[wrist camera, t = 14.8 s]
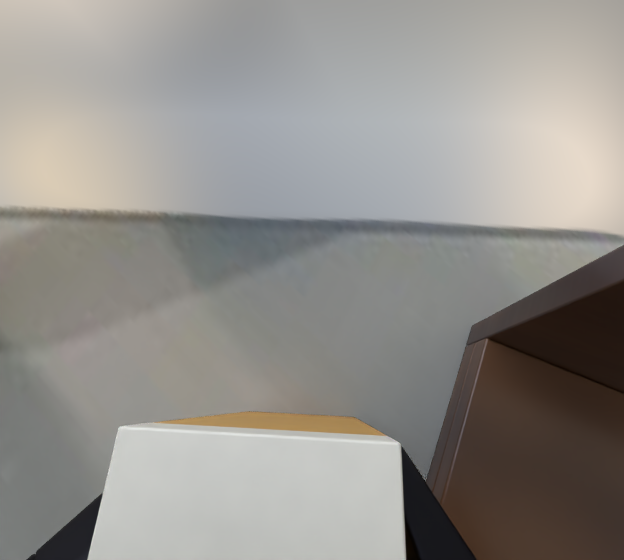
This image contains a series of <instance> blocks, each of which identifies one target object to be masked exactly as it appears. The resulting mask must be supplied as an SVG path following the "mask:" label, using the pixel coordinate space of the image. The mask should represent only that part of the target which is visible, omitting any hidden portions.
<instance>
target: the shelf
mask: <svg viewBox="0 0 624 560" xmlns="http://www.w3.org/2000/svg"><path fill="white" fill-rule="evenodd" d="M426 484H427V485H428V487H429V488H430V490H431V491H432V493H433V494H434V496H435V497H436V499H437V500H438V502H439V503H440V505H441V506H442V508H443V509H444V511H445V512H446V514H447V515H448V517H449V518H450V520H451V521H452V523H453V524H454V526H455V527H456V529H457V530H458V532H459V533H460V535H461V536H462V538H463V539H464V541H465V542H466V544H467V545H468V547H469V548H470V550H471V551H472V553H473V554H474V556H475V557H476V559H477V560H624V245H623V246H621V247H619V248H617V249H615V250H613V251H612V252H610V253H608V254H606V255H604V256H602V257H600V258H598V259H597V260H595V261H593V262H591V263H589V264H587V265H585V266H583V267H581V268H580V269H578V270H576V271H574V272H572V273H570V274H568V275H566V276H565V277H563V278H561V279H559V280H557V281H555V282H553V283H551V284H550V285H548V286H546V287H544V288H542V289H540V290H538V291H536V292H535V293H533V294H531V295H529V296H527V297H525V298H523V299H521V300H520V301H518V302H516V303H514V304H512V305H510V306H508V307H506V308H505V309H503V310H501V311H499V312H497V313H495V314H493V315H491V316H490V317H488V318H486V319H484V320H482V321H480V322H478V323H476V324H475V325H473V326H472V328H471V331H470V335H469V338H468V342H467V346H466V348H465V352H464V355H463V359H462V362H461V365H460V369H459V372H458V376H457V379H456V382H455V386H454V389H453V392H452V396H451V399H450V403H449V406H448V409H447V413H446V416H445V420H444V423H443V426H442V430H441V433H440V436H439V440H438V443H437V447H436V450H435V453H434V457H433V460H432V464H431V467H430V470H429V474H428V477H427V480H426Z"/></svg>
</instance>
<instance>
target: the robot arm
mask: <svg viewBox="0 0 624 560" xmlns="http://www.w3.org/2000/svg"><path fill="white" fill-rule="evenodd" d="M401 452H402V475H403V497H404V519H405V542H406V560H477V559H476V557H475V556H474V554H473V553H472V551H471V550H470V548H469V547H468V545H467V544H466V542H465V541H464V539H463V538H462V536H461V535H460V533H459V532H458V530H457V529H456V527H455V526H454V524H453V523H452V521H451V520H450V518H449V517H448V515H447V514H446V512H445V511H444V509H443V508H442V506H441V505H440V503H439V502H438V500H437V499H436V497H435V496H434V494H433V493H432V491H431V490H430V488H429V487H428V485H427V484H426V482H425V480H424V479H423V477H422V476H421V474H420V473H419V471H418V470H417V468H416V467H415V465H414V464H413V462H412V461H411V459H410V458H409V456H408V455H407V453H406V452H405V450H404V449H403V447H402V446H401ZM102 496H103V493H102V494H101V495H100V496H98V497H97V498H96V499H95V500H94V501H93V502H92V503H90V504H89V505H88V506H87V507H86V508H85V509H84V510H83V511H81V512H80V513H79V514H78V515H77V516H76V517H75V518H73V519H72V520H71V521H70V522H69V523H68V524H67V525H66V526H64V527H63V528H62V529H61V530H60V531H59V532H58V533H56V534H55V535H54V536H53V537H52V538H51V539H50V540H49V541H47V542H46V543H45V544H44V545H43V546H42V547H41V548H40V549H38V550H37V552H36V554H33V555H31V556H30V557H29V558H28V559H27V560H87V559H88V555H89V551H90V547H91V542H92V538H93V534H94V530H95V525H96V521H97V517H98V513H99V508H100V504H101V500H102Z"/></svg>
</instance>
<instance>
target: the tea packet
mask: <svg viewBox="0 0 624 560" xmlns="http://www.w3.org/2000/svg"><path fill="white" fill-rule="evenodd" d="M87 560H406V542H405V519H404V497H403V475H402V452H401V444H400V443H399V442H398V441H396V440H394V439H392V438H390V437H389V436H386V435H385V434H383V433H381V432H379V431H378V430H376V429H374V428H372V427H371V426H369V425H367V424H365V423H364V422H362V421H360V420H358V419H357V418H355V417H343V416H324V415H306V414H287V413H268V412H250V411H249V412H240V413H231V414H223V415H214V416H205V417H196V418H188V419H179V420H170V421H161V422H154V423H143V424H134V425H126V426H121V427H119V429H118V432H117V436H116V441H115V445H114V449H113V453H112V457H111V462H110V466H109V470H108V474H107V479H106V483H105V487H104V491H103V496H102V500H101V504H100V508H99V513H98V517H97V521H96V525H95V530H94V534H93V538H92V542H91V547H90V551H89V555H88V559H87Z"/></svg>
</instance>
